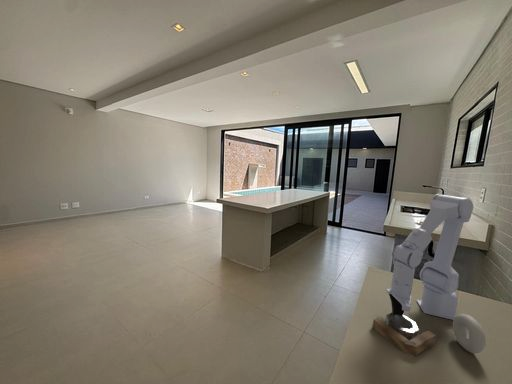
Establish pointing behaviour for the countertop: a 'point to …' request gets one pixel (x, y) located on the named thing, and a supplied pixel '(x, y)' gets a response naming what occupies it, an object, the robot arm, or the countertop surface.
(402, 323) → the ring
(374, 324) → the vee stop
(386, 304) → the countertop surface
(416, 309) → the countertop surface
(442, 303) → the robot arm
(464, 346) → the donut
